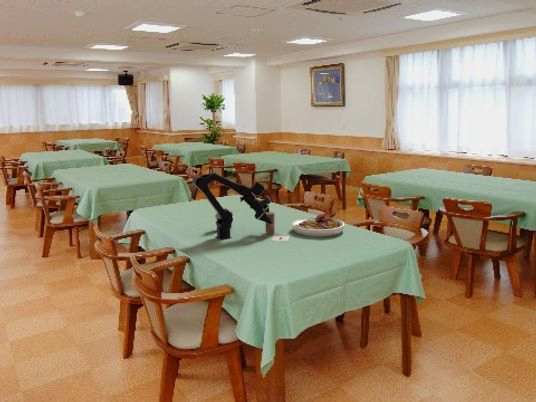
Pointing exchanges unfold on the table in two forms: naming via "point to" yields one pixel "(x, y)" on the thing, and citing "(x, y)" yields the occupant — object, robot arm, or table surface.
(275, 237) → the tile
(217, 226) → the food container
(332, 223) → the bowl
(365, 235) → the table surface
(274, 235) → the rest mat
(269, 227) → the walnut block
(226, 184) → the robot arm
